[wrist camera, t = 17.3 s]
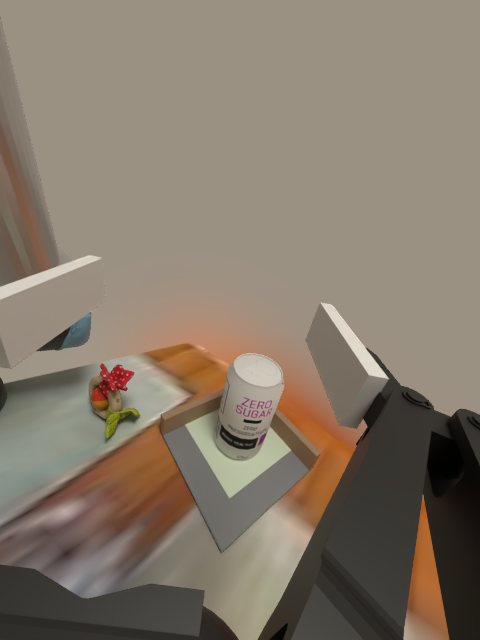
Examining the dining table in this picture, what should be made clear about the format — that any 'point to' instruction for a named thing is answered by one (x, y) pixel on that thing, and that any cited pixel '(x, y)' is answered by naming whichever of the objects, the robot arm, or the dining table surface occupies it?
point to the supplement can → (248, 405)
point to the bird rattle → (110, 396)
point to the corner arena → (234, 467)
